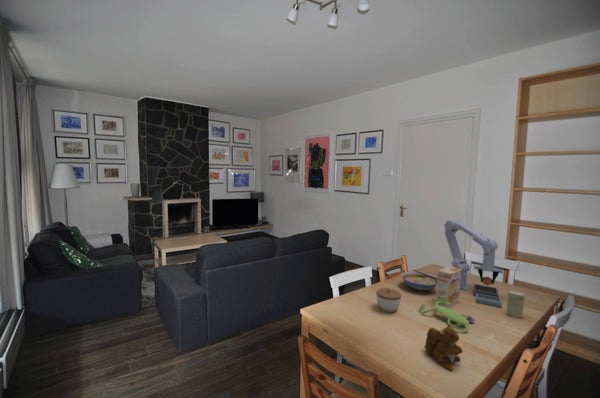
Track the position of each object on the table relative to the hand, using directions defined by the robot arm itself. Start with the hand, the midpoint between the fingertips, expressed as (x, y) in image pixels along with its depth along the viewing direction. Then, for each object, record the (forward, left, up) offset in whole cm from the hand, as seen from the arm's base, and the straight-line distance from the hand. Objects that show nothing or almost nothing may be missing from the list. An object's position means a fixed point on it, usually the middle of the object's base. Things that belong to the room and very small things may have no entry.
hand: (487, 282), depth 172 cm
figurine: (-19, -43, -9) cm, 48 cm away
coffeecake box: (-19, -23, -9) cm, 31 cm away
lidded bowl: (-46, -50, -9) cm, 69 cm away
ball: (0, 0, +1) cm, 1 cm away
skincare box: (+12, -20, -9) cm, 25 cm away
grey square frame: (0, +3, -9) cm, 9 cm away
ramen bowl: (-36, -10, -9) cm, 39 cm away
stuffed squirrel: (-18, -81, -9) cm, 83 cm away
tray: (+1, -9, -9) cm, 13 cm away
